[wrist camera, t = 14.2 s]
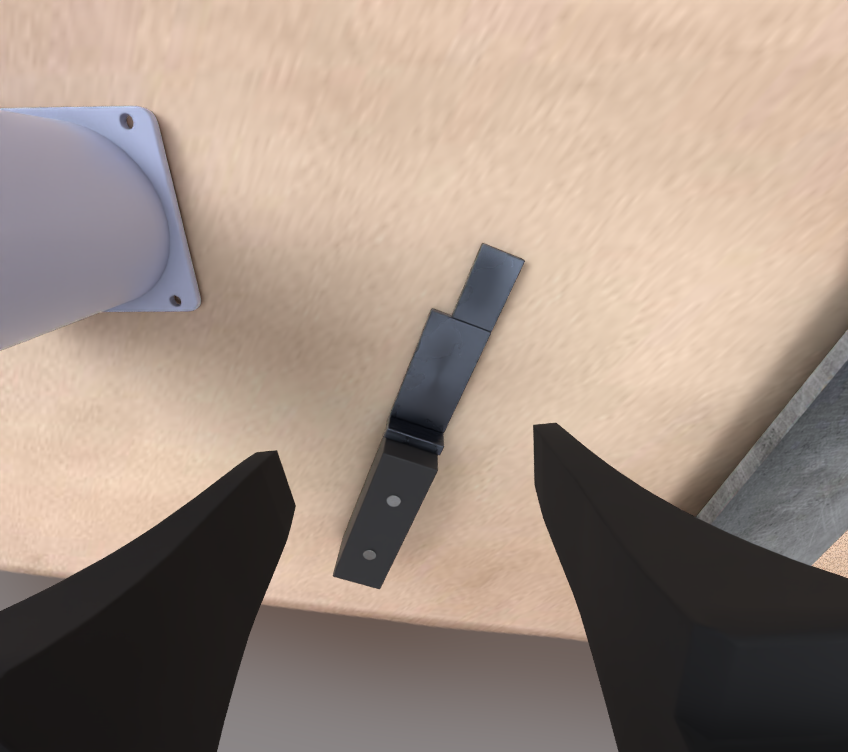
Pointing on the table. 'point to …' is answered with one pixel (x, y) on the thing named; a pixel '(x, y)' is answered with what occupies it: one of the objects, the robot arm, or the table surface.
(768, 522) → the meat cleaver
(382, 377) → the table surface
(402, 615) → the table surface
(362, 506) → the knife
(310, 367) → the table surface
